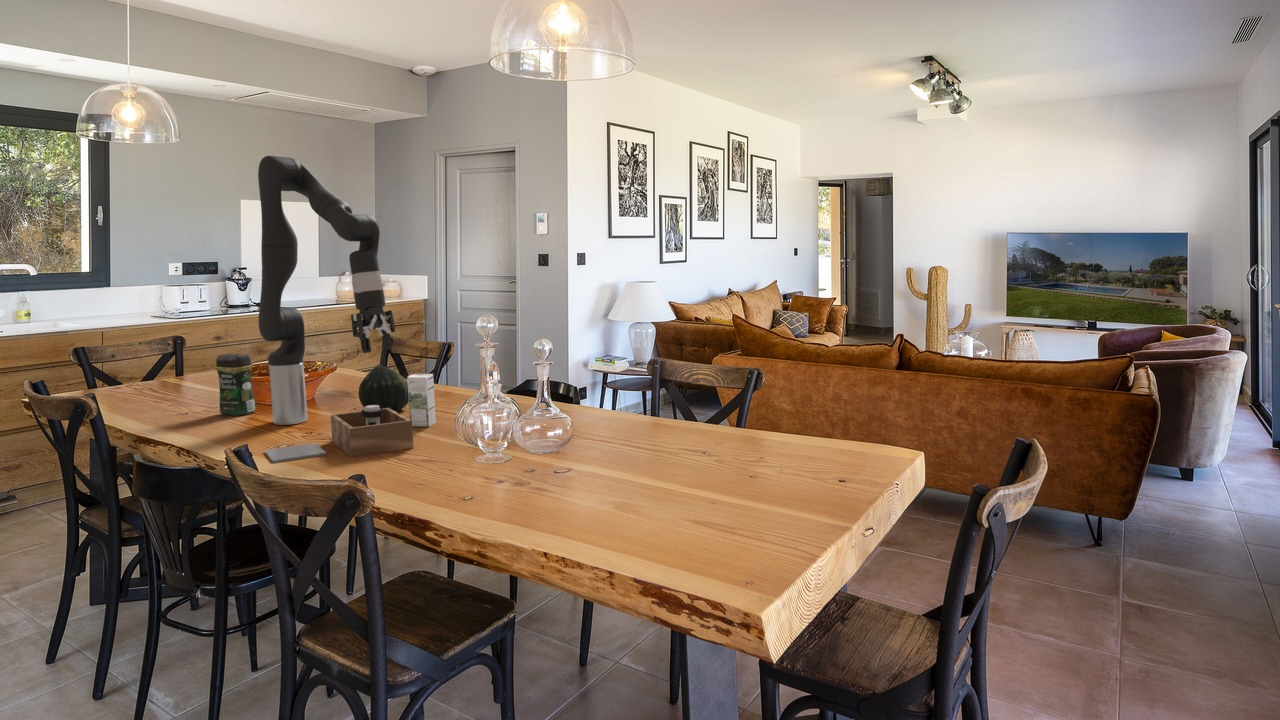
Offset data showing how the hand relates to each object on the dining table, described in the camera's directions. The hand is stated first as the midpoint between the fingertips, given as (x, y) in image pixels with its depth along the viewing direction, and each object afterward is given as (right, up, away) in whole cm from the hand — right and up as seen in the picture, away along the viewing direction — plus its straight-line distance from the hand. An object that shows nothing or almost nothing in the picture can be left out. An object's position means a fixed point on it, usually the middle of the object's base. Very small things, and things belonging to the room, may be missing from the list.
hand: (377, 350), depth 210 cm
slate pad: (-15, -25, -16) cm, 33 cm away
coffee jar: (-54, -19, +34) cm, 67 cm away
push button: (+1, -24, -7) cm, 25 cm away
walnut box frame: (+1, -24, -7) cm, 25 cm away
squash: (-9, -18, +35) cm, 40 cm away
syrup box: (+8, -21, +14) cm, 27 cm away
